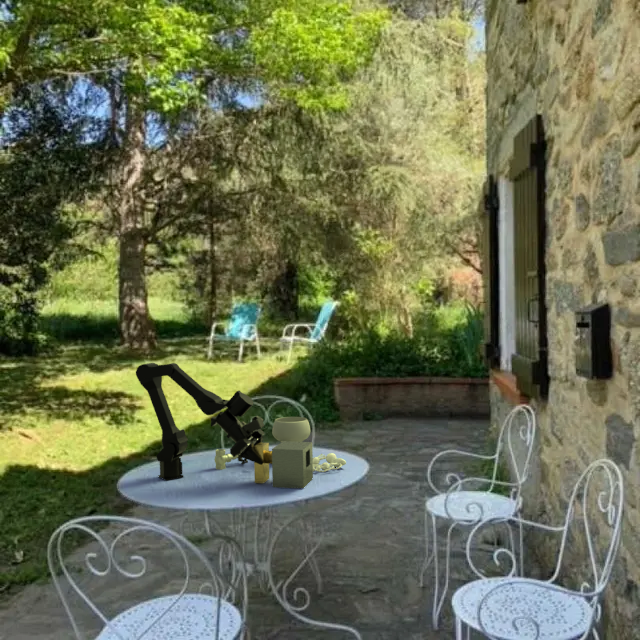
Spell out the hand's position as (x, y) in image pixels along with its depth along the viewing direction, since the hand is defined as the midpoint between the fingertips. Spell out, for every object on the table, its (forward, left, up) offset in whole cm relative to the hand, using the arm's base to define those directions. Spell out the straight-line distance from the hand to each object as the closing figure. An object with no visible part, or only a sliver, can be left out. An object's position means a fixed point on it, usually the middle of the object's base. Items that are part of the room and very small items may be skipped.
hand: (265, 461), depth 217 cm
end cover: (+2, -2, -6) cm, 7 cm away
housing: (+6, -7, -7) cm, 11 cm away
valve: (+2, +26, -7) cm, 27 cm away
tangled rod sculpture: (+23, +1, -7) cm, 24 cm away
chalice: (+25, +19, -7) cm, 32 cm away
